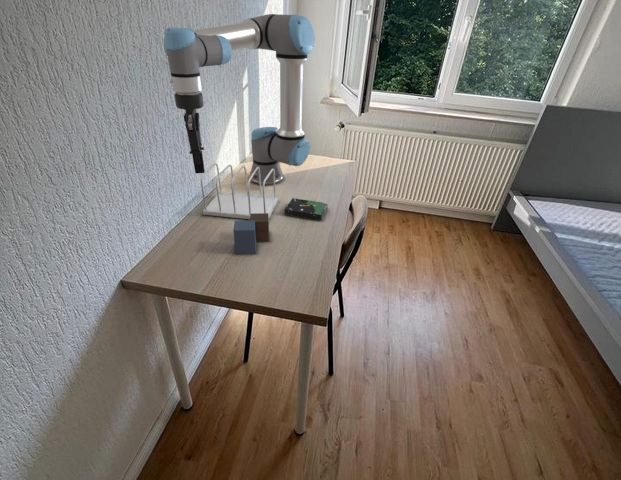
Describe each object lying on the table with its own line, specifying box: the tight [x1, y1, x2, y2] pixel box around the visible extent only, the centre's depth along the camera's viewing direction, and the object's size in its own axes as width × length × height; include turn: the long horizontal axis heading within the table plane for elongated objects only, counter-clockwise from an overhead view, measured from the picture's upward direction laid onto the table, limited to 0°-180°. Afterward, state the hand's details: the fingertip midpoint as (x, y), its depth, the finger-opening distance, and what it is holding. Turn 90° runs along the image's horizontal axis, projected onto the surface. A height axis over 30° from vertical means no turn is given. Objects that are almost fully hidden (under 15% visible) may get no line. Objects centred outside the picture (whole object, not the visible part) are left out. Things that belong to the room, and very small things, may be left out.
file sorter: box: [200, 162, 279, 220], centre depth 133 cm, size 25×17×16 cm
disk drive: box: [284, 197, 329, 221], centre depth 136 cm, size 10×3×15 cm
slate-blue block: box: [232, 219, 257, 255], centre depth 112 cm, size 6×6×9 cm
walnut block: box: [249, 213, 270, 243], centre depth 118 cm, size 6×6×8 cm
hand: (200, 171), depth 110 cm, fingers closed
